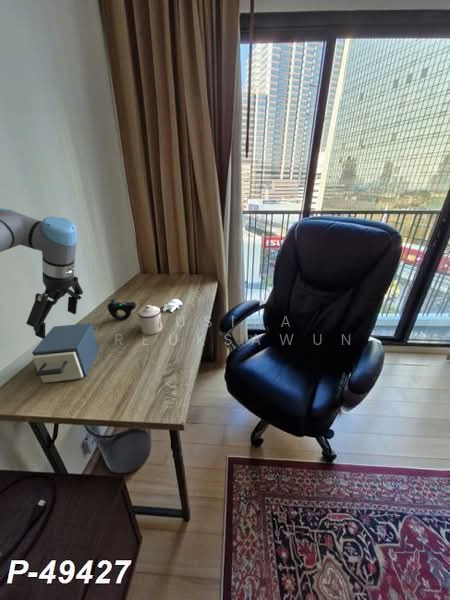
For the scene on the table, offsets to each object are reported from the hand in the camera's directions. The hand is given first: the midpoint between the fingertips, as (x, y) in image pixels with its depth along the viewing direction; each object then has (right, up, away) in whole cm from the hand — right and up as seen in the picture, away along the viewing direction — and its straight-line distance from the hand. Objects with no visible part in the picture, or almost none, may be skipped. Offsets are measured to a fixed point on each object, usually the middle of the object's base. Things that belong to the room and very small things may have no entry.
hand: (57, 323), depth 83 cm
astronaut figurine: (+29, +4, +44) cm, 53 cm away
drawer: (+3, -16, +1) cm, 16 cm away
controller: (+9, -1, +34) cm, 35 cm away
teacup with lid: (+24, -4, +27) cm, 36 cm away
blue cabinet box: (+2, -15, +6) cm, 16 cm away
